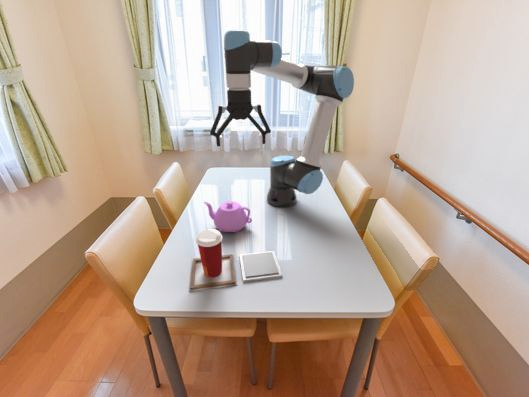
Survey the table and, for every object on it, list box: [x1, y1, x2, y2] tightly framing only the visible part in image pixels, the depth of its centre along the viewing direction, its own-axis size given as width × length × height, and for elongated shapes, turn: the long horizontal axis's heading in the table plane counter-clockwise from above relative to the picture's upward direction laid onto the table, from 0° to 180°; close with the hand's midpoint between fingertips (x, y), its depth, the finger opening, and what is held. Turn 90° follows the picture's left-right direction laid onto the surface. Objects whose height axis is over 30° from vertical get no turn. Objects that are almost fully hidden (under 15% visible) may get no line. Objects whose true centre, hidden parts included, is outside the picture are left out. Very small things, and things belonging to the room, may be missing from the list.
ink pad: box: [239, 250, 283, 283], centre depth 92 cm, size 13×13×1 cm
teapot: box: [203, 200, 253, 234], centre depth 112 cm, size 20×14×12 cm
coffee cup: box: [195, 228, 223, 278], centre depth 86 cm, size 8×8×15 cm
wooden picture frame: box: [188, 253, 238, 292], centre depth 90 cm, size 15×15×1 cm
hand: (241, 154), depth 93 cm, fingers open, 13 cm apart
